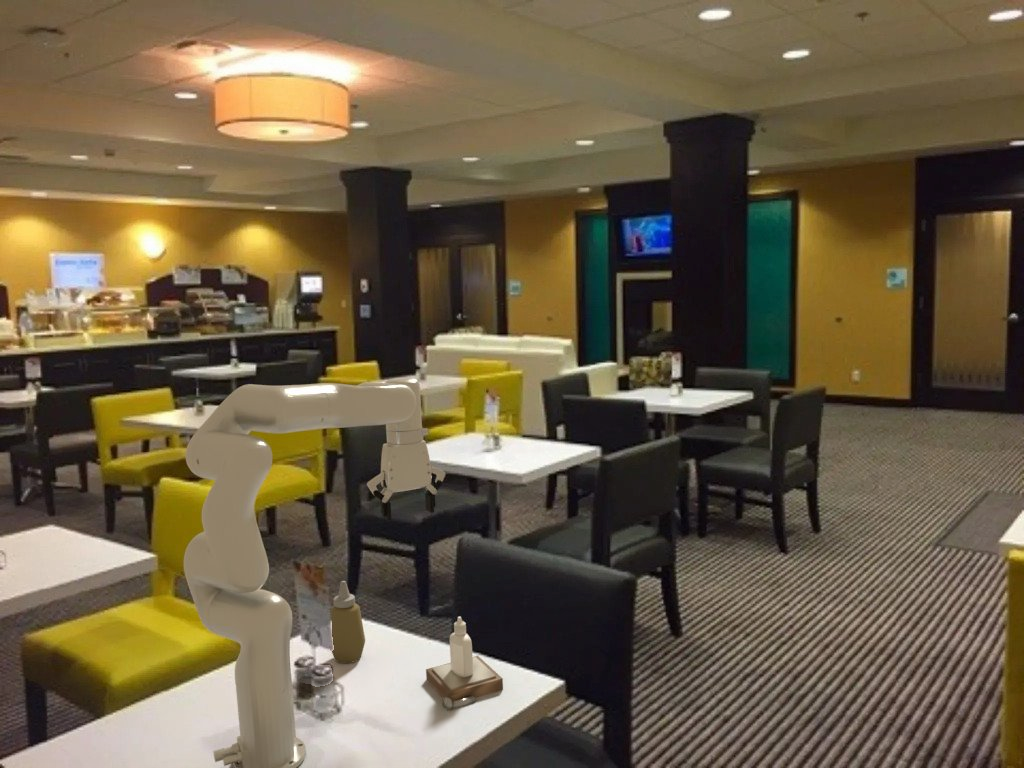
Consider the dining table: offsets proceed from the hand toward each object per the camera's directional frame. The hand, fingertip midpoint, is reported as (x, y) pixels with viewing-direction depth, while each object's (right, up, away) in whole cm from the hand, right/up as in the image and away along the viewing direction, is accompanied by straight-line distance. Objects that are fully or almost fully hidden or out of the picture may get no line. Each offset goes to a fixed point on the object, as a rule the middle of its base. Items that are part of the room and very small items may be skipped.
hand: (408, 515), depth 184 cm
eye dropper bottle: (+12, -32, -6) cm, 34 cm away
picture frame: (+12, -35, -5) cm, 37 cm away
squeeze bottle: (-15, -34, +10) cm, 38 cm away
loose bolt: (+12, -36, -14) cm, 40 cm away
